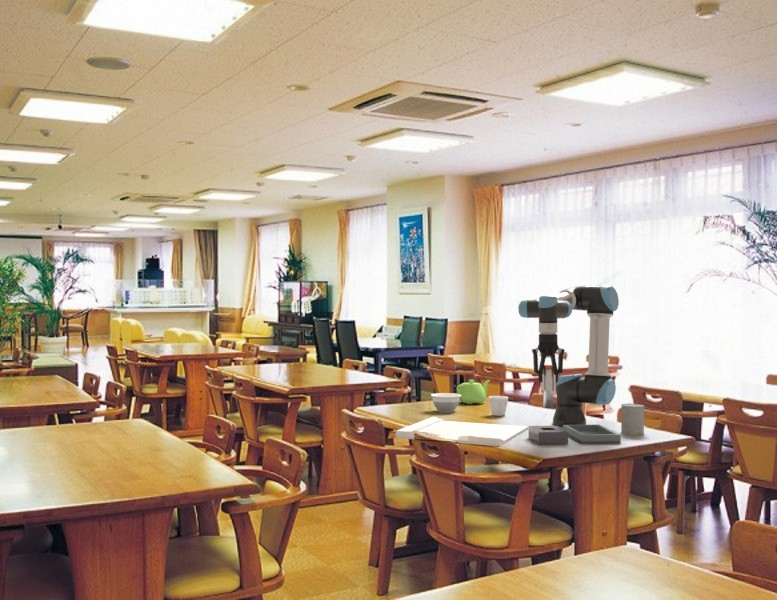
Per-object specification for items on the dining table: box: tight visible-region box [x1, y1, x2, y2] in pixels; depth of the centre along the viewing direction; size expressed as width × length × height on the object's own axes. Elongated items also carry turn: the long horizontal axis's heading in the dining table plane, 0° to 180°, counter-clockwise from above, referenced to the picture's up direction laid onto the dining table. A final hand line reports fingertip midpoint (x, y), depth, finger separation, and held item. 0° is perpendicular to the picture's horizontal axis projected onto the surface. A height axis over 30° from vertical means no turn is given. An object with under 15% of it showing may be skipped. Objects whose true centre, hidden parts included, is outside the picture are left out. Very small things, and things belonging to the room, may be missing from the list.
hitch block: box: [528, 425, 569, 446], centre depth 326 cm, size 16×12×5 cm
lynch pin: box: [542, 364, 554, 409], centre depth 326 cm, size 4×4×17 cm
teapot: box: [456, 379, 491, 405], centre depth 444 cm, size 22×15×13 cm
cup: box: [488, 395, 509, 417], centre depth 398 cm, size 10×10×9 cm
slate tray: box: [562, 424, 622, 445], centre depth 334 cm, size 26×16×4 cm, turn 4°
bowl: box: [430, 392, 461, 414], centre depth 412 cm, size 16×16×9 cm
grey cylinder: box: [620, 403, 645, 436], centre depth 346 cm, size 10×10×12 cm
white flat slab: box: [395, 416, 529, 447], centre depth 345 cm, size 45×45×4 cm
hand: (548, 390), depth 327 cm, fingers closed on lynch pin, 4 cm apart
